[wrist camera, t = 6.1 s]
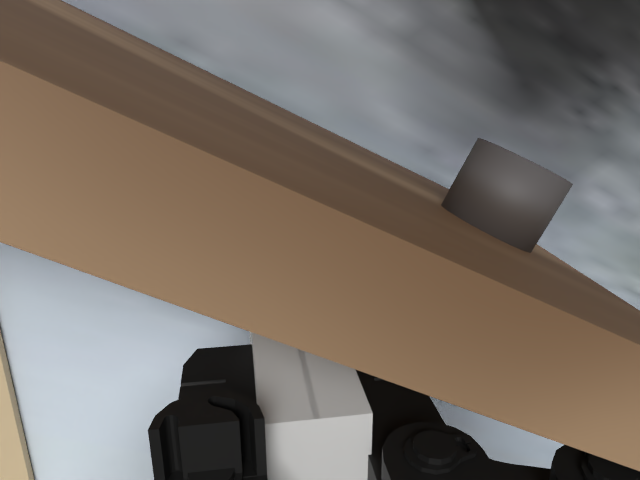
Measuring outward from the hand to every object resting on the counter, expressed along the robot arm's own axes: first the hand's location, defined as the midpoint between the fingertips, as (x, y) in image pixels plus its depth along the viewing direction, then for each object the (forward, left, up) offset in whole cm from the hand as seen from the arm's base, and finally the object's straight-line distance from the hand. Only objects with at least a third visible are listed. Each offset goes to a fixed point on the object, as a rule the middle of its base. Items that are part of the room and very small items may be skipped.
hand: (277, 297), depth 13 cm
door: (-1, +5, -1) cm, 5 cm away
